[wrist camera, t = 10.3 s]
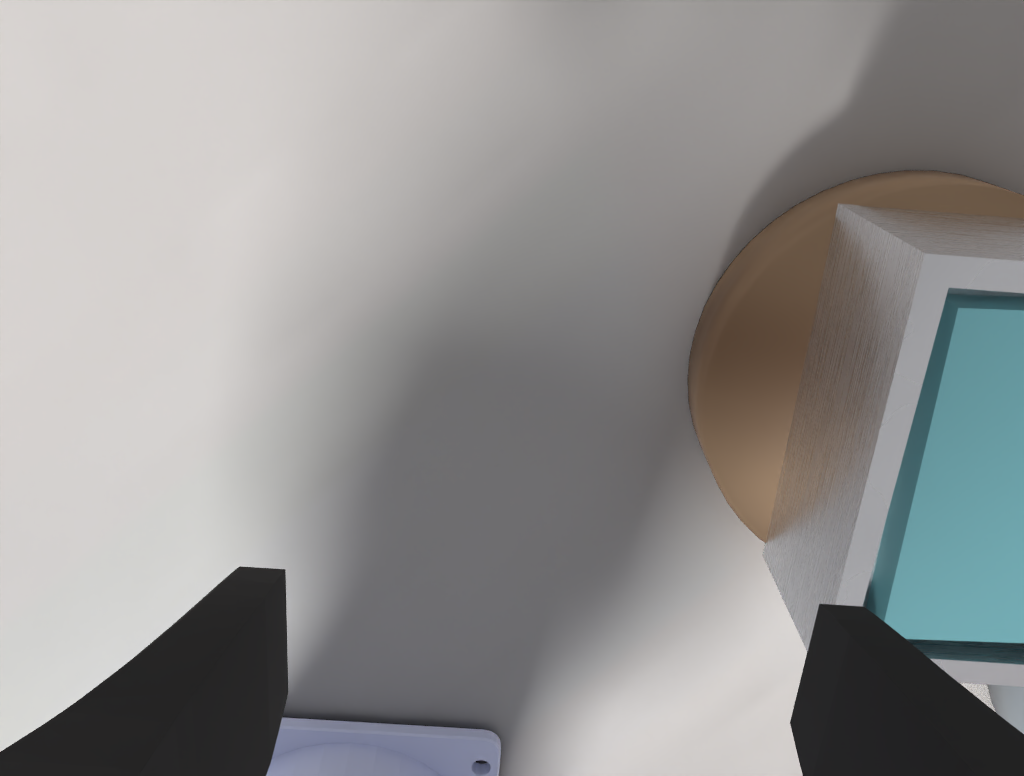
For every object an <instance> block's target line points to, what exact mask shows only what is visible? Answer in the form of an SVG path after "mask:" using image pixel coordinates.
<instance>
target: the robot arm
mask: <svg viewBox="0 0 1024 776" xmlns="http://www.w3.org/2000/svg"><path fill="white" fill-rule="evenodd" d="M287 695H288V664H287V621H286V578H285V569H269V568H254V567H239V568H237V569H236V570H235V571H234V572H232V573H231V574H230V575H229V576H228V577H227V578H225V579H224V580H223V581H222V582H221V583H220V584H218V585H217V586H216V587H215V588H214V589H213V590H212V591H211V592H209V593H208V594H207V595H206V596H205V597H204V598H203V599H202V600H200V601H199V602H198V603H197V604H196V605H195V606H194V607H193V608H192V609H190V610H189V611H188V612H187V613H186V614H185V615H184V616H182V617H181V618H180V619H179V620H178V621H177V622H176V623H174V624H173V625H172V626H171V627H170V628H169V629H167V630H166V631H165V632H164V633H163V634H162V635H160V636H159V637H158V638H157V639H156V640H154V641H153V642H152V643H151V644H150V645H148V646H147V647H146V648H145V649H144V650H142V651H141V652H140V653H139V654H138V655H137V656H135V657H134V658H133V659H132V660H130V661H129V662H128V663H127V664H125V665H124V666H123V667H122V668H120V669H119V670H118V671H116V672H115V673H114V674H113V675H111V676H110V677H109V678H107V679H106V680H105V681H103V682H102V683H101V684H99V685H98V686H97V687H95V688H94V689H93V690H92V691H90V692H89V693H88V694H86V695H85V696H84V697H82V698H81V699H80V700H78V701H77V702H76V703H74V704H73V705H71V706H70V707H68V708H67V709H66V710H64V711H63V712H61V713H60V714H58V715H57V716H55V717H54V718H52V719H51V720H50V721H48V722H47V723H45V724H44V725H42V726H41V727H39V728H37V729H36V730H34V731H33V732H31V733H29V734H28V735H26V736H25V737H23V738H22V739H20V740H18V741H17V742H15V743H14V744H12V745H11V746H9V747H7V748H6V749H4V750H3V751H1V752H0V776H499V767H500V756H501V742H500V739H499V737H498V736H497V735H496V734H495V733H493V732H492V731H488V730H484V729H467V728H450V727H433V726H417V725H400V724H383V723H366V722H349V721H333V720H316V719H299V718H282V716H283V712H284V708H285V704H286V699H287ZM790 724H791V728H792V732H793V737H794V741H795V745H796V749H797V754H798V758H799V762H800V766H801V770H802V773H803V776H1024V734H1023V733H1022V732H1020V731H1019V730H1018V729H1016V728H1015V727H1014V726H1013V725H1011V724H1010V723H1009V722H1007V721H1006V720H1005V719H1003V718H1002V717H1001V716H1000V715H998V714H997V713H996V712H994V711H993V710H992V709H991V708H989V707H988V706H987V705H986V704H984V703H983V702H982V701H981V700H979V699H978V698H977V697H976V696H974V695H973V694H972V693H971V692H969V691H968V690H967V689H966V688H964V687H963V686H962V685H961V684H960V683H958V682H957V681H956V680H955V679H953V678H952V677H951V676H950V675H949V674H947V673H946V672H945V671H944V670H942V669H941V668H940V667H939V666H938V665H936V664H935V663H934V662H933V661H932V660H930V659H929V658H928V657H927V656H926V655H924V654H923V653H922V652H921V651H920V650H918V649H917V648H916V647H915V646H914V645H912V644H911V643H910V642H909V641H907V640H906V639H905V638H904V637H903V636H901V635H900V634H899V633H898V632H897V631H895V630H894V629H893V628H892V627H890V626H889V625H888V624H887V623H885V622H884V621H883V620H881V619H880V618H879V617H878V616H876V615H875V614H874V613H872V612H871V611H869V610H868V609H867V608H865V607H863V606H847V605H832V604H819V607H818V611H817V615H816V619H815V623H814V628H813V632H812V636H811V640H810V644H809V648H808V652H807V656H806V660H805V664H804V668H803V673H802V677H801V681H800V685H799V689H798V693H797V697H796V701H795V705H794V709H793V713H792V717H791V722H790ZM479 760H483V761H487V763H485V764H479V763H476V761H479Z"/></svg>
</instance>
